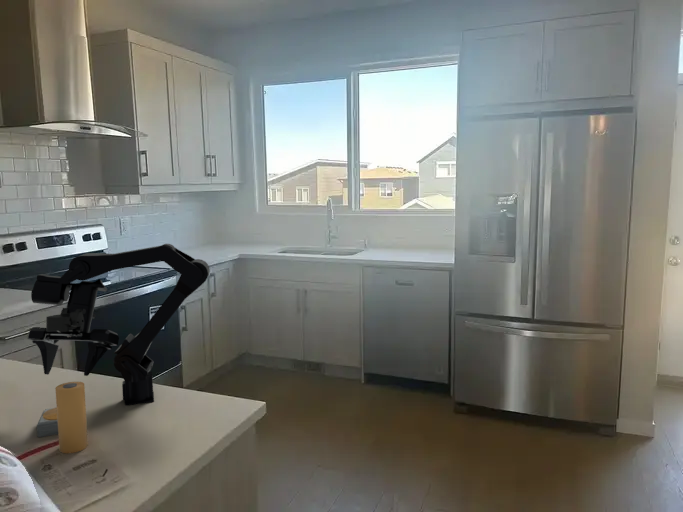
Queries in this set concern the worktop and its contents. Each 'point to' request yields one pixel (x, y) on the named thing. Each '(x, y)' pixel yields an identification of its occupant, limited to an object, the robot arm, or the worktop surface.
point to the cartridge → (71, 417)
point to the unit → (48, 423)
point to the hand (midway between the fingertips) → (66, 375)
